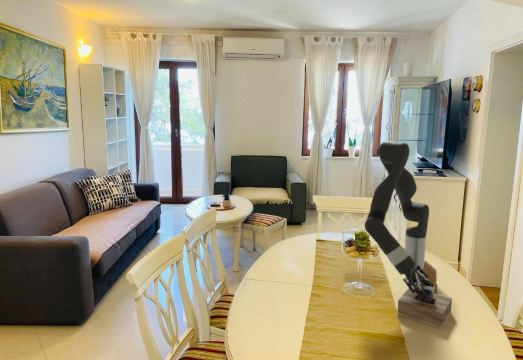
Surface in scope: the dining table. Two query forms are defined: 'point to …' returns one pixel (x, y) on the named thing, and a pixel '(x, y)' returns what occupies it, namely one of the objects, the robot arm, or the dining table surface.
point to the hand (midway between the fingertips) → (429, 295)
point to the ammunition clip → (430, 275)
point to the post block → (425, 309)
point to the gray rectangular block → (429, 292)
